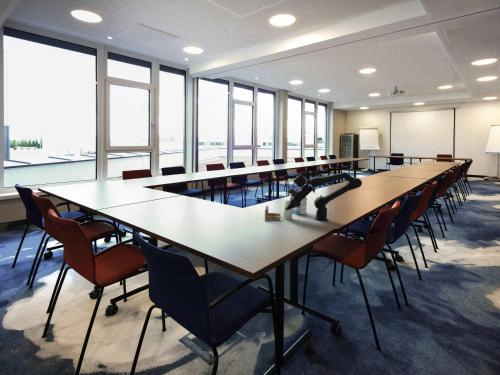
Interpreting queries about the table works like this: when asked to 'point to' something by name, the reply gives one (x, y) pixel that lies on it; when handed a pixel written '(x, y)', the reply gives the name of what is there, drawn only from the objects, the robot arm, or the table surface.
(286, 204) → the pale green tapered cylinder
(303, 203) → the ink box
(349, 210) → the table surface
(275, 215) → the holder
